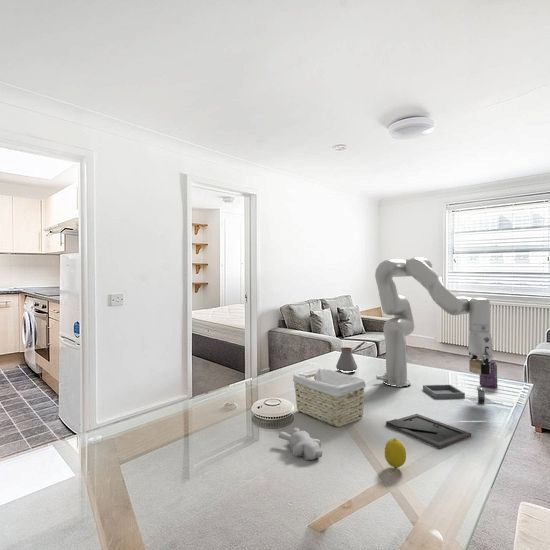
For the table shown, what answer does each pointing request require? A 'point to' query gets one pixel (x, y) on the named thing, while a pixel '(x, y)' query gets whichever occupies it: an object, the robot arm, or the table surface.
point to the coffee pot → (347, 359)
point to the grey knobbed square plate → (481, 397)
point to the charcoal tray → (443, 391)
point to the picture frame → (428, 430)
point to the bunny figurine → (303, 444)
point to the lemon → (395, 453)
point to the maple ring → (475, 366)
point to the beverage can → (490, 376)
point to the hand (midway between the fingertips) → (479, 371)
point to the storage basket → (329, 396)
